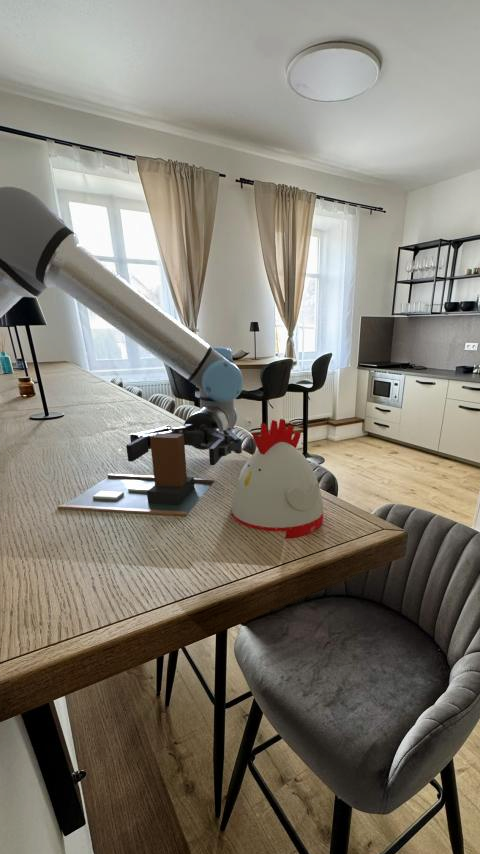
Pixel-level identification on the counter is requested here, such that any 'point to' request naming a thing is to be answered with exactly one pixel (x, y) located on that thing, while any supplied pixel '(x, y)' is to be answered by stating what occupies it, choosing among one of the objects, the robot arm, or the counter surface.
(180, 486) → the eraser
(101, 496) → the chalk smudge
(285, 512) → the kitchen timer
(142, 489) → the chalk smudge
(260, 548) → the counter surface
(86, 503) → the chalkboard
